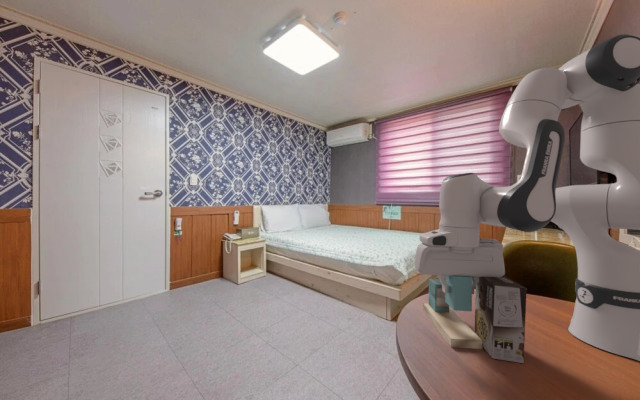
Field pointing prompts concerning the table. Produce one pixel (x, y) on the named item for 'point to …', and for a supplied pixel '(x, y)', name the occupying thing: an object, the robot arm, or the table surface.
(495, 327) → the coffee box
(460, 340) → the rail
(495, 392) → the table surface
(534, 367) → the table surface
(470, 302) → the teal block white top
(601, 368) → the table surface
